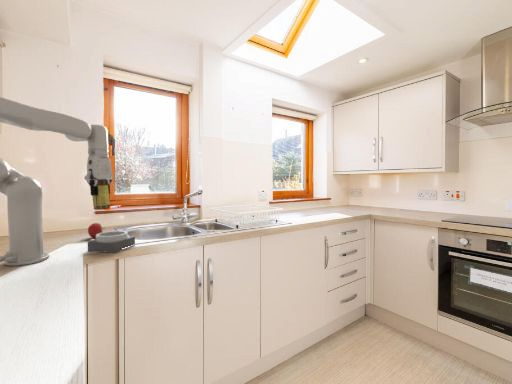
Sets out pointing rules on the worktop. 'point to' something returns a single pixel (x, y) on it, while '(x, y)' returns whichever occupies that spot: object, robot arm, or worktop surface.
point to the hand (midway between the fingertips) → (100, 194)
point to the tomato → (94, 229)
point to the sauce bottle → (101, 196)
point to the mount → (111, 241)
